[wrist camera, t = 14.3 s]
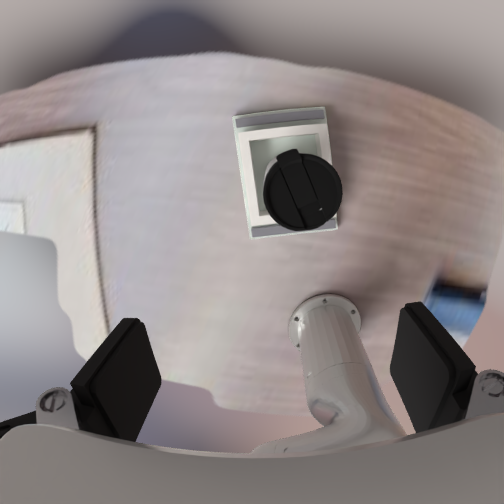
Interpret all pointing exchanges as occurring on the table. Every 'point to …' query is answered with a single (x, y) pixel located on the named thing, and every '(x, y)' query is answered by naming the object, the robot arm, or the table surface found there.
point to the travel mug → (301, 190)
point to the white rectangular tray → (270, 145)
